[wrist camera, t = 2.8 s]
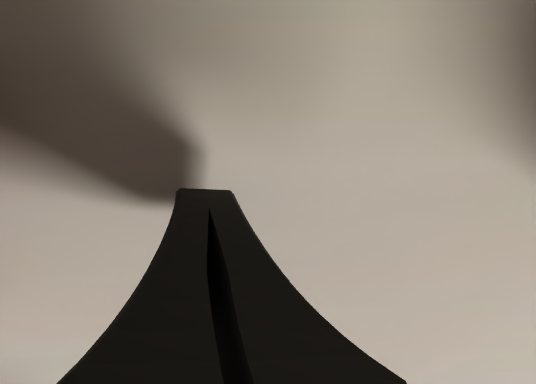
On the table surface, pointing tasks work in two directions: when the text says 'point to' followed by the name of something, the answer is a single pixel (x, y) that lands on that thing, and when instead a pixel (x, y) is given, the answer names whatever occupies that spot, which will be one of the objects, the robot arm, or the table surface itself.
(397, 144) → the table surface
